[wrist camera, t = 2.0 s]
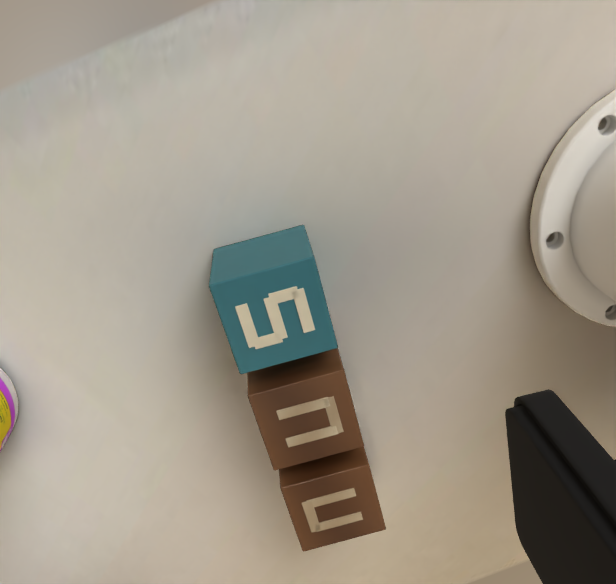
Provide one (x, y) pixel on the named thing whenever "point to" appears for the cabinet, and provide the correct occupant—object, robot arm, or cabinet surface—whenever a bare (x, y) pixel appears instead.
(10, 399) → the supplement bottle
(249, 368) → the letter s
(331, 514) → the wooden toy block
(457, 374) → the cabinet surface
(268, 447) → the wooden toy block
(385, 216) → the cabinet surface
